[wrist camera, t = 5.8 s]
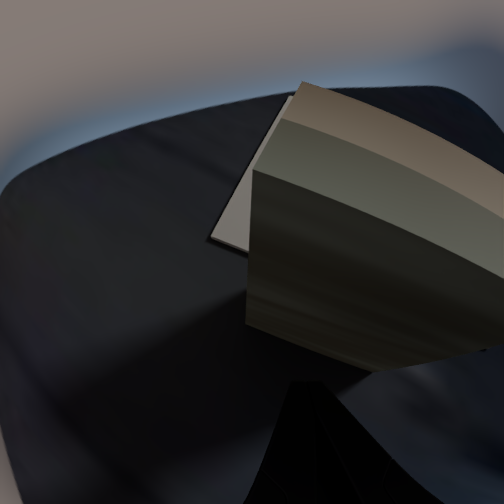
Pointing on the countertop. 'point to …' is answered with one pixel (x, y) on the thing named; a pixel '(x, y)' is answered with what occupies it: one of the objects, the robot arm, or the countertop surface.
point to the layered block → (373, 238)
